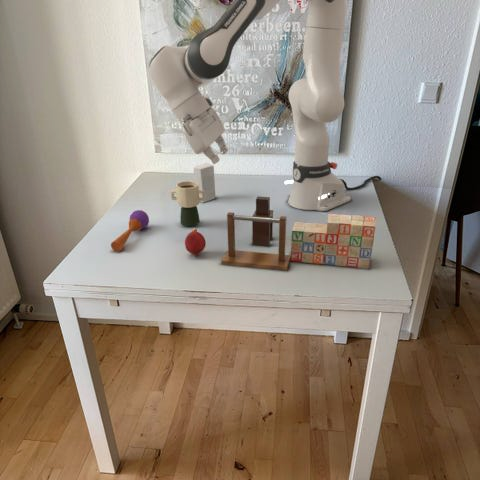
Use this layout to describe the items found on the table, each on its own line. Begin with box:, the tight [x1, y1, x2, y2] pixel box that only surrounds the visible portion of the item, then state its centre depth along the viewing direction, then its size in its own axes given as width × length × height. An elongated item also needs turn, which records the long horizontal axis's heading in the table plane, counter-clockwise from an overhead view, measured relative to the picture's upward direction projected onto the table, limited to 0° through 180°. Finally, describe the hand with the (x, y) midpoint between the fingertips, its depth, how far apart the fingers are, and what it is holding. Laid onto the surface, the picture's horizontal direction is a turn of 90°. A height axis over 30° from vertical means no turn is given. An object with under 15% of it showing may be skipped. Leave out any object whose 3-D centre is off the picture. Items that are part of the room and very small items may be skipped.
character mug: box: [170, 180, 205, 227], centre depth 154 cm, size 11×7×13 cm, turn 84°
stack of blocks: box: [290, 213, 377, 270], centre depth 131 cm, size 21×6×12 cm, turn 77°
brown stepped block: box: [251, 195, 274, 247], centre depth 142 cm, size 6×5×14 cm
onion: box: [184, 228, 207, 256], centre depth 136 cm, size 6×6×8 cm
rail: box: [221, 211, 291, 272], centre depth 131 cm, size 18×7×14 cm, turn 76°
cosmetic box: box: [193, 162, 216, 204], centre depth 173 cm, size 6×4×12 cm
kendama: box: [110, 209, 150, 253], centre depth 148 cm, size 6×6×20 cm
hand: (221, 157), depth 134 cm, fingers open, 8 cm apart
